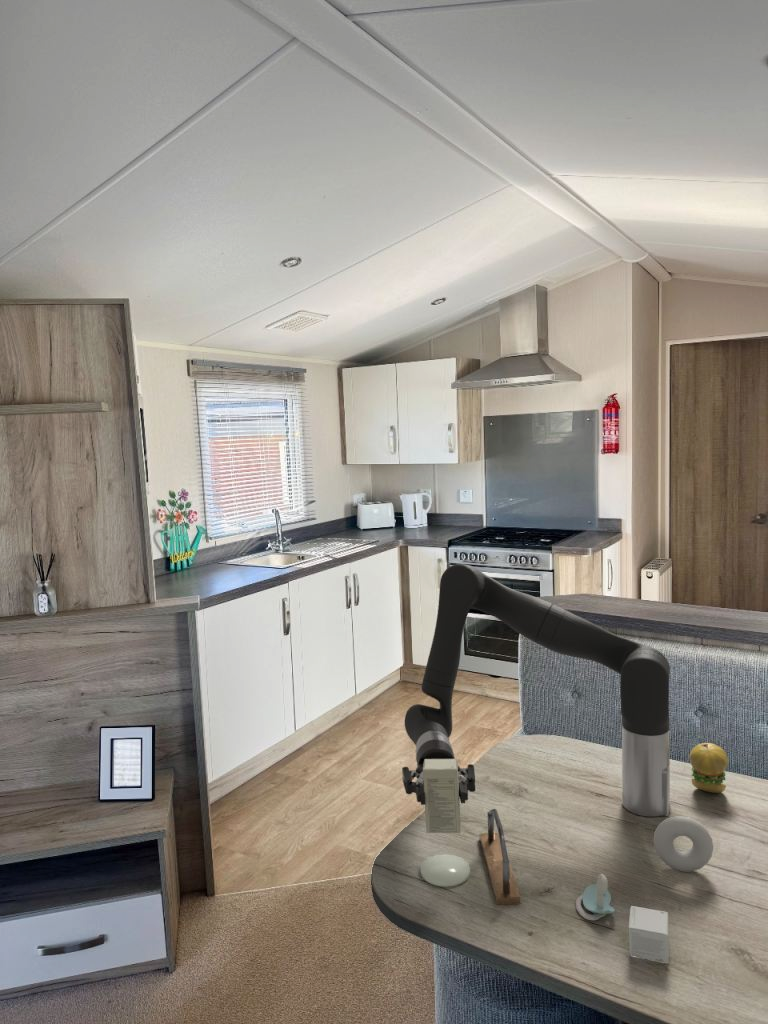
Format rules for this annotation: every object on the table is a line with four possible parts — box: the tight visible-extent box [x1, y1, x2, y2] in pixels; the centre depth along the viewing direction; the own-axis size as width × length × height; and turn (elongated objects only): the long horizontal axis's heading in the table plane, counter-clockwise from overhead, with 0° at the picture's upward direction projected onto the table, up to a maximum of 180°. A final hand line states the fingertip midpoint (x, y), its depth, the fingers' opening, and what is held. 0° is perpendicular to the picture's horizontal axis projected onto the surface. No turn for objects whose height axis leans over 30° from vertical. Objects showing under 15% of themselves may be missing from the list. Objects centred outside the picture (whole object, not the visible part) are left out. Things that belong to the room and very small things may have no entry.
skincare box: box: [423, 758, 461, 834], centre depth 134 cm, size 6×4×12 cm
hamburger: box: [689, 742, 729, 794], centre depth 158 cm, size 8×7×12 cm
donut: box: [653, 815, 714, 873], centre depth 132 cm, size 10×3×10 cm, turn 74°
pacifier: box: [575, 873, 616, 922], centre depth 123 cm, size 7×6×6 cm
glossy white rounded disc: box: [420, 854, 471, 888], centre depth 135 cm, size 9×9×1 cm
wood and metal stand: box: [478, 808, 522, 906], centre depth 135 cm, size 20×4×10 cm, turn 1°
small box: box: [628, 905, 670, 965], centre depth 113 cm, size 6×6×5 cm
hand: (443, 799), depth 131 cm, fingers closed on skincare box, 6 cm apart
